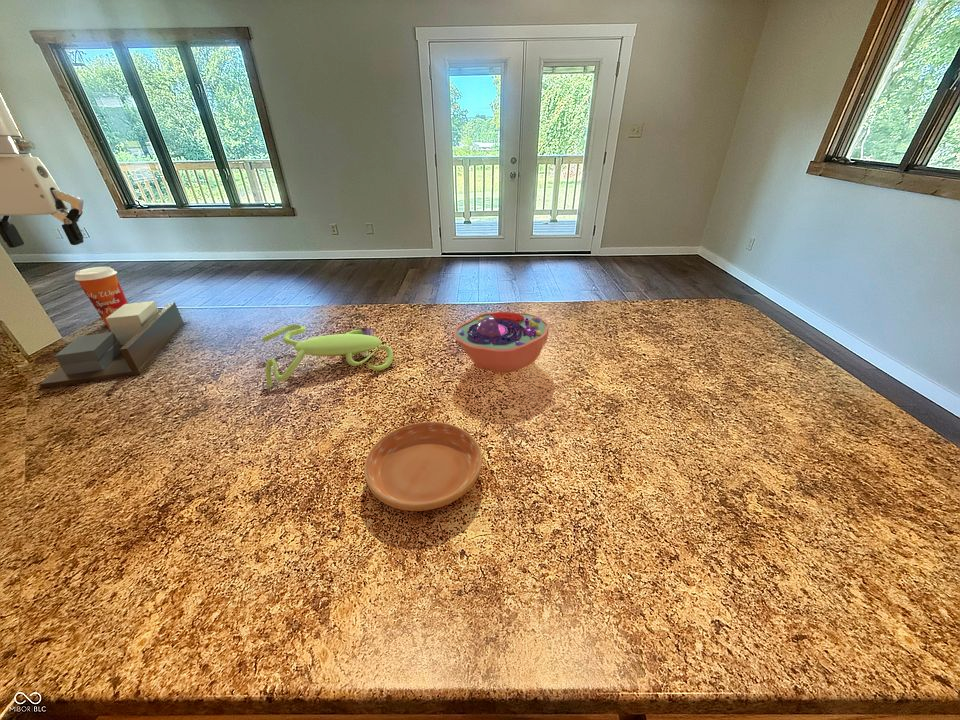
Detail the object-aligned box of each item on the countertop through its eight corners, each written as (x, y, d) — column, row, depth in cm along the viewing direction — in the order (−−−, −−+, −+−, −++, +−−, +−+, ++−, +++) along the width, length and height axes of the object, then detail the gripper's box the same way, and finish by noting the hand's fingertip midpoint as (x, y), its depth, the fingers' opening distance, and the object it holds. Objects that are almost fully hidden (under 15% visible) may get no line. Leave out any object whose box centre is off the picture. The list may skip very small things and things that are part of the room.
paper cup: (100, 332, 94) (69, 277, 87) (103, 321, 100) (74, 269, 93) (139, 324, 98) (113, 271, 91) (140, 314, 104) (115, 263, 97)
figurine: (272, 346, 87) (264, 324, 84) (390, 333, 93) (387, 311, 90) (251, 390, 71) (241, 365, 69) (395, 371, 77) (392, 347, 74)
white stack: (117, 345, 86) (108, 328, 83) (136, 328, 93) (127, 312, 91) (151, 341, 87) (143, 324, 85) (166, 325, 95) (159, 309, 93)
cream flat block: (110, 327, 84) (105, 318, 83) (129, 312, 91) (124, 303, 90) (142, 324, 85) (137, 314, 84) (158, 309, 93) (154, 300, 92)
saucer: (392, 429, 61) (390, 415, 60) (490, 440, 59) (490, 425, 58) (346, 512, 48) (341, 496, 46) (470, 531, 45) (469, 514, 44)
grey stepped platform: (41, 388, 73) (22, 361, 70) (109, 332, 94) (97, 309, 91) (140, 374, 77) (126, 348, 74) (184, 323, 98) (174, 302, 95)
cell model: (565, 367, 78) (572, 317, 72) (484, 398, 69) (483, 343, 63) (516, 336, 90) (518, 291, 85) (441, 359, 81) (438, 310, 76)
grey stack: (64, 375, 75) (51, 356, 73) (89, 353, 82) (78, 335, 80) (103, 370, 76) (92, 351, 74) (125, 349, 84) (115, 331, 82)
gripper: (69, 148, 74) (109, 239, 82) (-50, 146, 69) (6, 243, 77) (44, 148, 67) (90, 246, 76) (-89, 146, 63) (-24, 251, 71)
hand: (48, 244), depth 76 cm, fingers open, 9 cm apart
